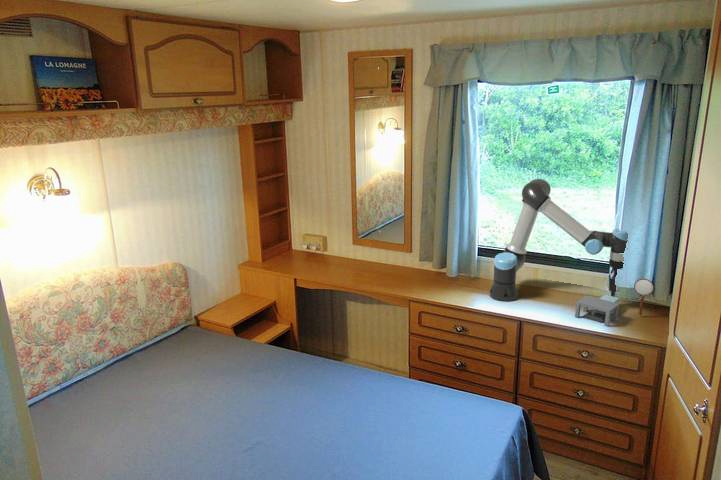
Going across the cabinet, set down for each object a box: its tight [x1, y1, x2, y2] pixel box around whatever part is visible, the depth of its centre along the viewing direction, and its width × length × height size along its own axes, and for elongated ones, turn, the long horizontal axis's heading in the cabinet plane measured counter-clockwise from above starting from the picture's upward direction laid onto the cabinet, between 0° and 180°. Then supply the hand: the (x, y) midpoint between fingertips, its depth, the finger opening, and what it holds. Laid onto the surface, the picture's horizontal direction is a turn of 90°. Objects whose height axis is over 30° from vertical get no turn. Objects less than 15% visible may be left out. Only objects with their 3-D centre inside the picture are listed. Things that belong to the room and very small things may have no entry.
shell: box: [594, 294, 620, 316], centre depth 268 cm, size 12×7×6 cm, turn 135°
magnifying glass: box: [633, 278, 655, 317], centre depth 259 cm, size 9×2×20 cm, turn 57°
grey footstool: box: [574, 295, 620, 328], centre depth 260 cm, size 16×12×8 cm
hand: (612, 302), depth 274 cm, fingers closed
